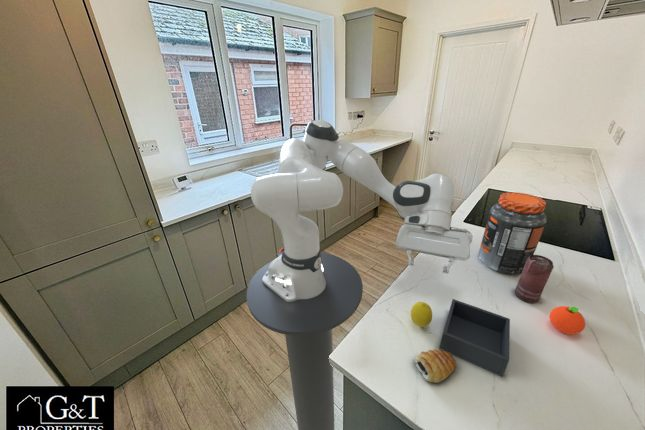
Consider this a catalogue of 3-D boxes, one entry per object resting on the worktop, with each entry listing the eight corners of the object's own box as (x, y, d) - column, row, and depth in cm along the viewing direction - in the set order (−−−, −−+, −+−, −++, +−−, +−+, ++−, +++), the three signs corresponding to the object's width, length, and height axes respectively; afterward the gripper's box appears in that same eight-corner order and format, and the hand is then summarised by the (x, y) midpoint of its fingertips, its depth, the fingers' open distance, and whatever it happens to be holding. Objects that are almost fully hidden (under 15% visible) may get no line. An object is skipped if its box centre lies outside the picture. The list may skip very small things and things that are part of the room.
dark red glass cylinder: (508, 292, 83) (522, 256, 77) (523, 287, 85) (538, 252, 79) (527, 306, 78) (543, 268, 72) (543, 300, 80) (560, 263, 73)
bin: (439, 348, 67) (442, 333, 64) (449, 313, 77) (452, 298, 74) (502, 376, 60) (509, 360, 57) (504, 333, 70) (510, 318, 67)
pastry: (442, 349, 66) (444, 339, 65) (463, 373, 61) (466, 363, 59) (411, 361, 64) (413, 351, 62) (429, 388, 58) (432, 378, 56)
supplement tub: (484, 246, 107) (502, 186, 95) (531, 262, 97) (557, 197, 85) (470, 263, 97) (488, 199, 86) (521, 283, 87) (548, 213, 75)
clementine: (555, 314, 75) (565, 295, 72) (586, 331, 69) (598, 312, 66) (540, 325, 72) (549, 305, 69) (571, 344, 66) (582, 324, 63)
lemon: (428, 318, 75) (432, 297, 71) (431, 334, 70) (435, 313, 67) (408, 315, 76) (411, 294, 73) (409, 331, 71) (413, 309, 68)
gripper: (470, 233, 78) (465, 279, 75) (400, 222, 86) (393, 263, 82) (475, 227, 73) (470, 276, 69) (400, 216, 80) (391, 259, 77)
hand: (427, 269), depth 76 cm, fingers open, 8 cm apart
